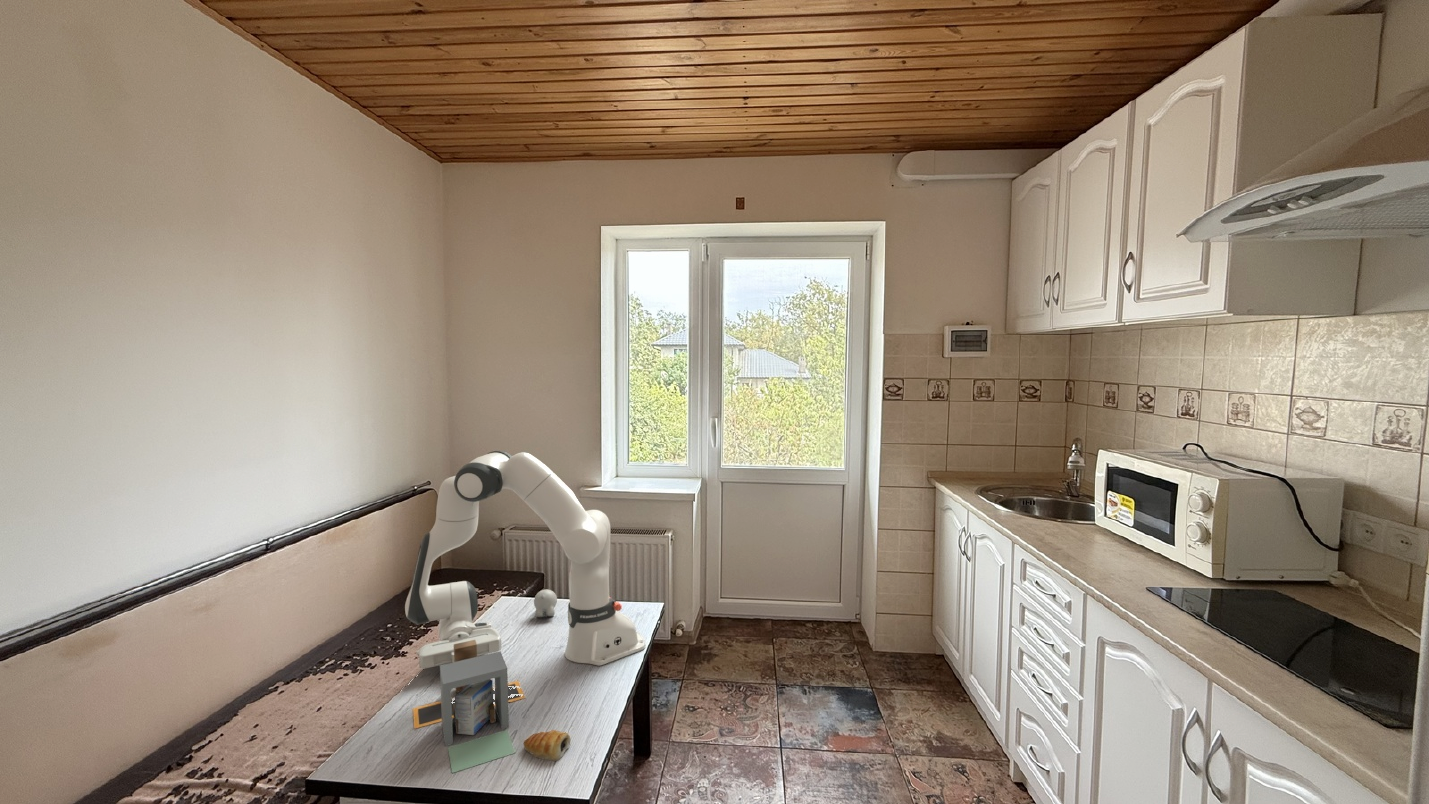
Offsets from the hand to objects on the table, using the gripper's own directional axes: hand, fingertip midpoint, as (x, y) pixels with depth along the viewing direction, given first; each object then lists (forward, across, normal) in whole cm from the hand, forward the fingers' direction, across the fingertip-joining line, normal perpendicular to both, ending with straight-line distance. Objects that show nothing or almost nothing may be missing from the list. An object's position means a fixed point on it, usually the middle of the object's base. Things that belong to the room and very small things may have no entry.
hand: (463, 661), depth 148 cm
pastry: (+39, +12, +6) cm, 41 cm away
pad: (+32, 0, +5) cm, 32 cm away
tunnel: (+22, 0, +5) cm, 23 cm away
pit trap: (+12, 0, +5) cm, 13 cm away
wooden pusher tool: (+14, 0, +4) cm, 14 cm away
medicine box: (+22, 0, +5) cm, 23 cm away
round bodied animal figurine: (-31, +28, +5) cm, 42 cm away
